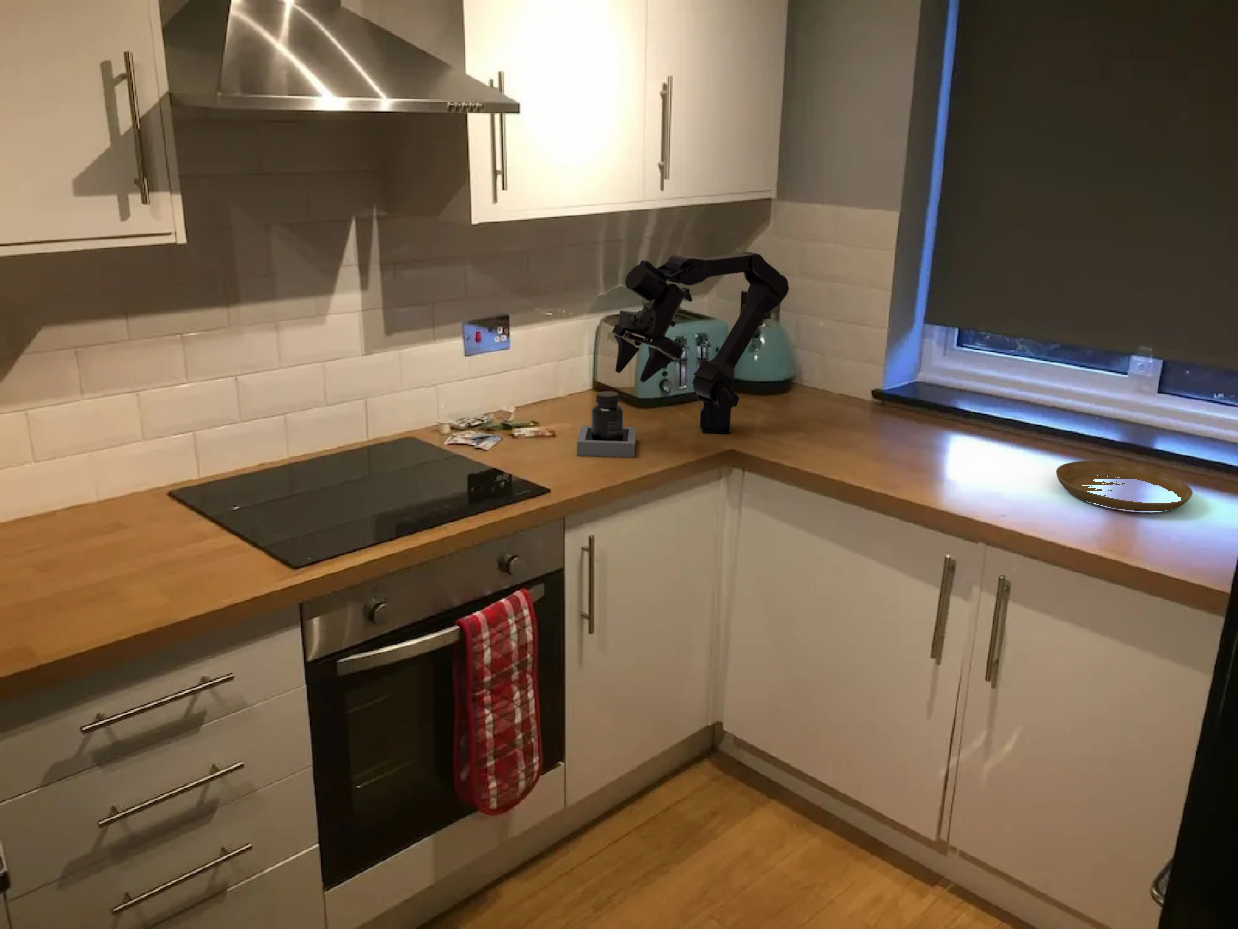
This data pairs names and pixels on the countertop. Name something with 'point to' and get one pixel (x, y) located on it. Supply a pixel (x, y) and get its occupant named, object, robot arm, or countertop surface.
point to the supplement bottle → (607, 417)
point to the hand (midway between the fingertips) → (629, 376)
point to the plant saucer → (1087, 471)
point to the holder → (606, 444)
